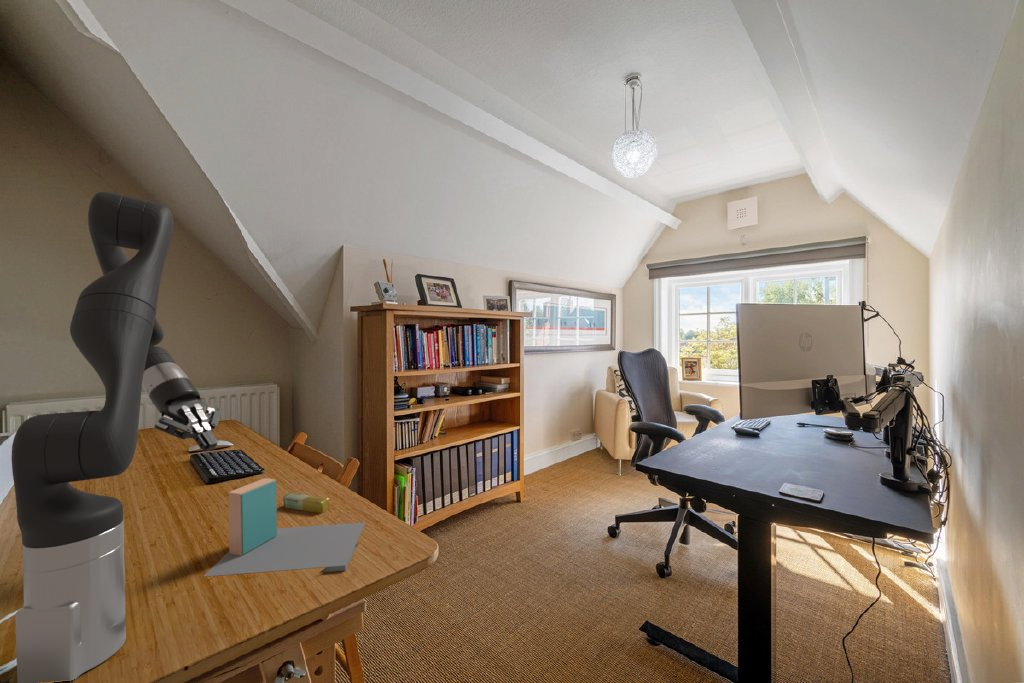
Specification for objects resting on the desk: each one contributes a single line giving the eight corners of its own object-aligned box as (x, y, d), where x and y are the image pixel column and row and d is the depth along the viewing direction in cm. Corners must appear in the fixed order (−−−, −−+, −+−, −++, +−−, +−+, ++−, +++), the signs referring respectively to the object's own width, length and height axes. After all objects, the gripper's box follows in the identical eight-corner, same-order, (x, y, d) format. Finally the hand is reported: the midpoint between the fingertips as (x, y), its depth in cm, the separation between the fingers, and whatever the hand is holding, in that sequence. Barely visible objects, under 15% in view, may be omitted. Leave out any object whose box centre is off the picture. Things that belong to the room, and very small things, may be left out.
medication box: (282, 512, 99) (282, 496, 99) (291, 507, 102) (291, 491, 102) (322, 518, 96) (321, 502, 95) (330, 513, 98) (330, 497, 98)
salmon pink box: (229, 553, 78) (228, 492, 78) (265, 533, 86) (264, 478, 86) (242, 556, 77) (241, 494, 77) (277, 535, 85) (276, 479, 85)
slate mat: (345, 570, 74) (345, 565, 74) (203, 582, 71) (202, 576, 71) (366, 526, 91) (366, 522, 91) (251, 534, 88) (251, 529, 87)
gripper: (142, 379, 81) (187, 445, 77) (209, 373, 93) (250, 429, 90) (125, 404, 82) (168, 469, 79) (193, 395, 95) (232, 450, 92)
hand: (211, 448), depth 84 cm, fingers closed
